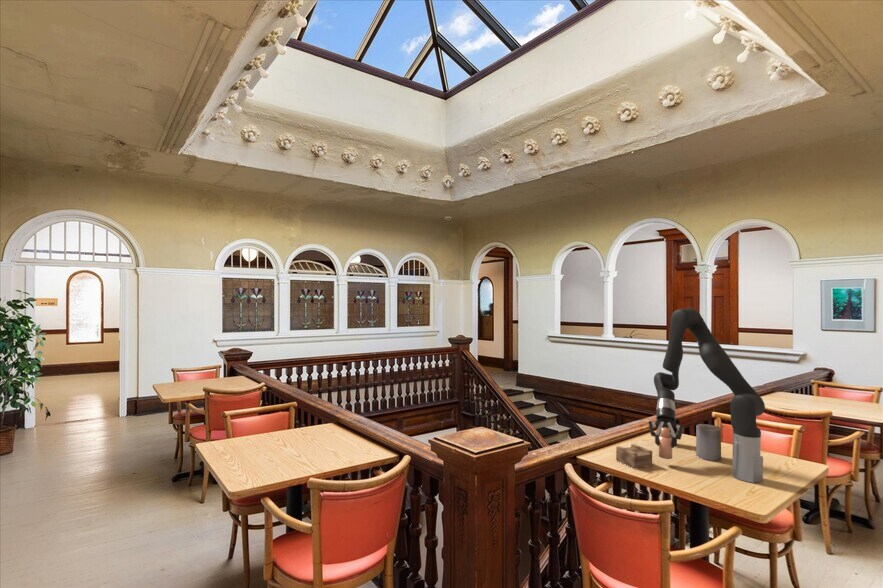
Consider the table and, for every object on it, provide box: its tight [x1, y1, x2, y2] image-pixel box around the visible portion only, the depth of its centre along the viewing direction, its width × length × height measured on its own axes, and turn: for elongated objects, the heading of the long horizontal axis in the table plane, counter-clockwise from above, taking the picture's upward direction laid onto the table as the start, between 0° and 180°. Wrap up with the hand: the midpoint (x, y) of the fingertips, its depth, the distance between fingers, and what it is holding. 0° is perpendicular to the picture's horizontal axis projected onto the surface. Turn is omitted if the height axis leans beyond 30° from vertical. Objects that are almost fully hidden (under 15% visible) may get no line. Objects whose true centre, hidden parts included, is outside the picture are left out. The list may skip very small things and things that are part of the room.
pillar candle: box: [695, 423, 722, 462], centre depth 205 cm, size 10×10×15 cm
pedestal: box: [615, 443, 653, 469], centre depth 196 cm, size 10×10×6 cm
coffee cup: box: [670, 416, 681, 446], centre depth 224 cm, size 9×8×13 cm
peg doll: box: [658, 427, 673, 460], centre depth 195 cm, size 5×5×12 cm
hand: (665, 445), depth 193 cm, fingers closed on peg doll, 5 cm apart
